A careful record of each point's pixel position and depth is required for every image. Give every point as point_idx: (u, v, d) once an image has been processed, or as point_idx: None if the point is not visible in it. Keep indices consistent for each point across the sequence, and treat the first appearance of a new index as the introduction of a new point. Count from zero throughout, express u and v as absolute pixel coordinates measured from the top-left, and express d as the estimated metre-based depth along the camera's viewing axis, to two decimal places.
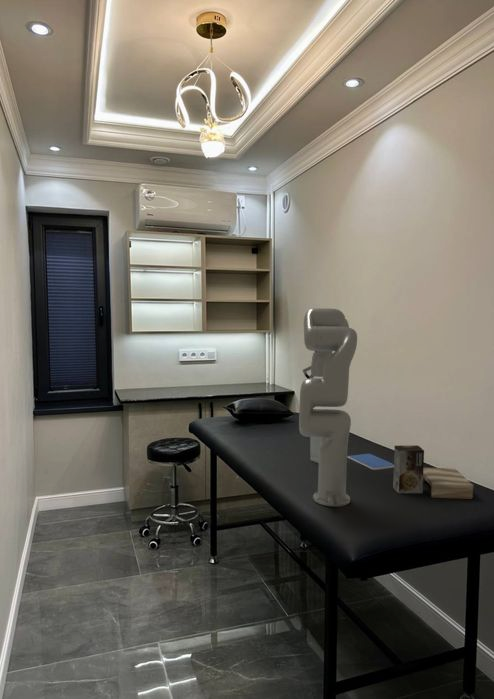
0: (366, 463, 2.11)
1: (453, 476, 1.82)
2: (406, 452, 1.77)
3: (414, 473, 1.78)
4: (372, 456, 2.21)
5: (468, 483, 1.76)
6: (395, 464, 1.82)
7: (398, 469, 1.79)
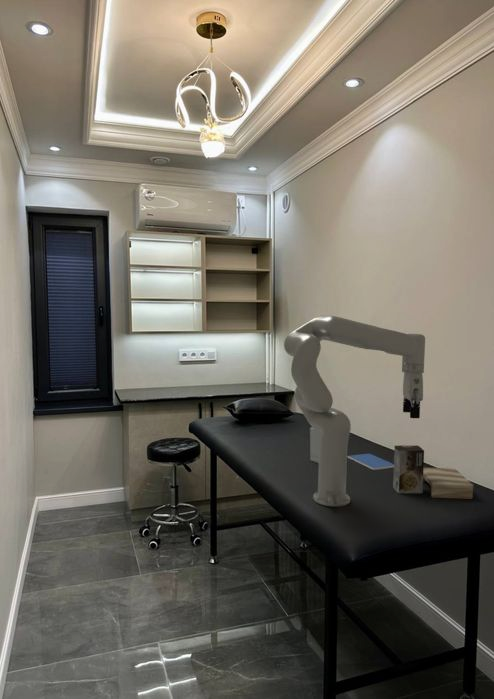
0: (366, 463, 2.11)
1: (453, 476, 1.82)
2: (406, 452, 1.77)
3: (414, 473, 1.78)
4: (372, 456, 2.21)
5: (468, 483, 1.76)
6: (395, 464, 1.82)
7: (398, 469, 1.79)
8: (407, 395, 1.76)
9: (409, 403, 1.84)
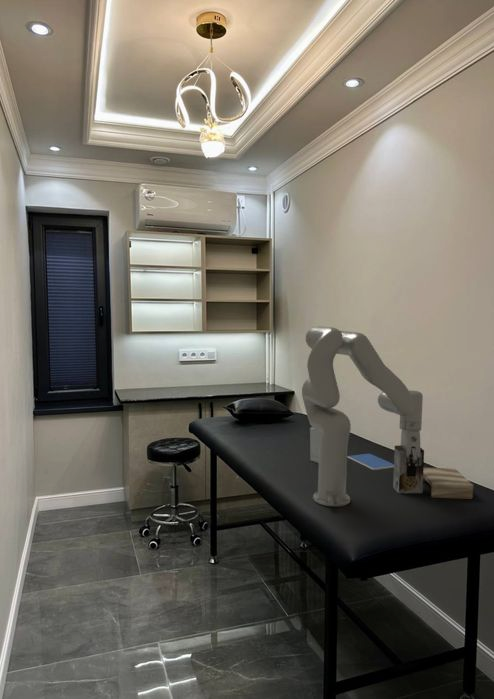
0: (366, 463, 2.11)
1: (453, 476, 1.82)
2: None
3: None
4: (372, 456, 2.21)
5: (468, 483, 1.76)
6: (395, 464, 1.82)
7: (398, 469, 1.79)
8: None
9: None
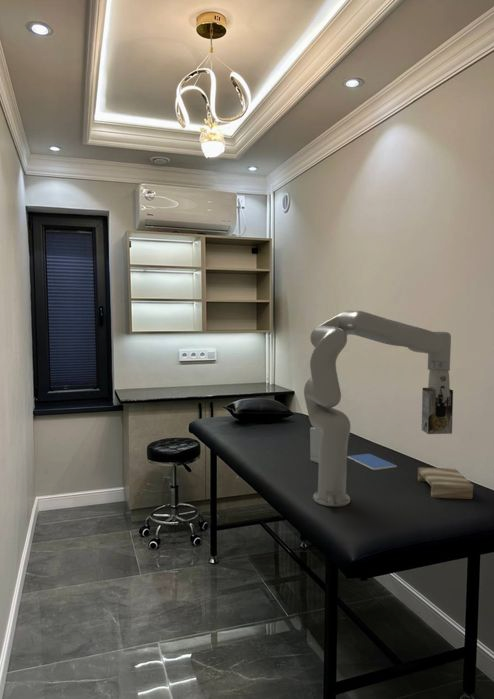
0: (366, 463, 2.11)
1: (453, 476, 1.82)
2: None
3: None
4: (372, 456, 2.21)
5: (468, 483, 1.76)
6: (423, 406, 1.82)
7: (427, 410, 1.79)
8: None
9: None
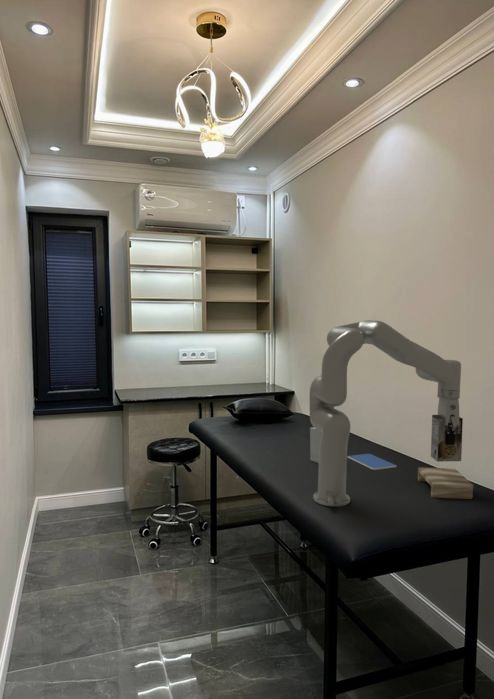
0: (366, 463, 2.11)
1: (453, 476, 1.82)
2: None
3: None
4: (372, 456, 2.21)
5: (468, 483, 1.76)
6: (433, 433, 1.83)
7: (437, 437, 1.80)
8: None
9: None
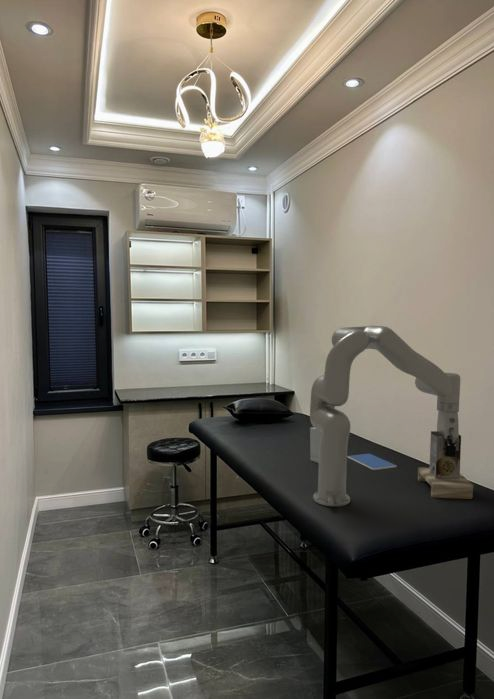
0: (366, 463, 2.11)
1: None
2: (443, 437, 1.79)
3: (451, 458, 1.80)
4: (372, 456, 2.21)
5: (468, 483, 1.76)
6: (431, 449, 1.84)
7: (435, 454, 1.81)
8: (442, 434, 1.80)
9: None
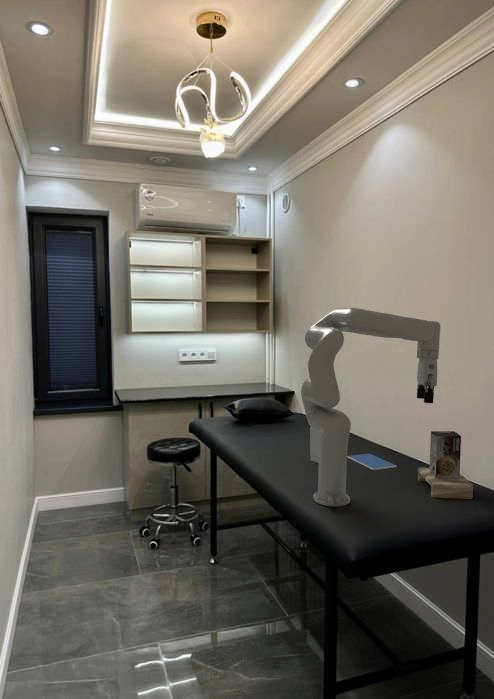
0: (366, 463, 2.11)
1: None
2: (443, 437, 1.79)
3: (451, 458, 1.80)
4: (372, 456, 2.21)
5: (468, 483, 1.76)
6: (431, 449, 1.84)
7: (435, 454, 1.81)
8: (421, 381, 1.80)
9: (423, 389, 1.87)
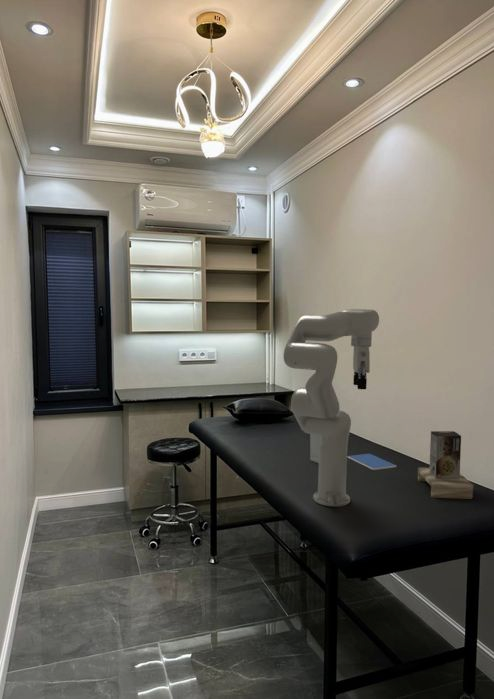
0: (366, 463, 2.11)
1: None
2: (443, 437, 1.79)
3: (451, 458, 1.80)
4: (372, 456, 2.21)
5: (468, 483, 1.76)
6: (432, 449, 1.84)
7: (435, 454, 1.81)
8: (355, 368, 1.87)
9: (359, 376, 1.94)
